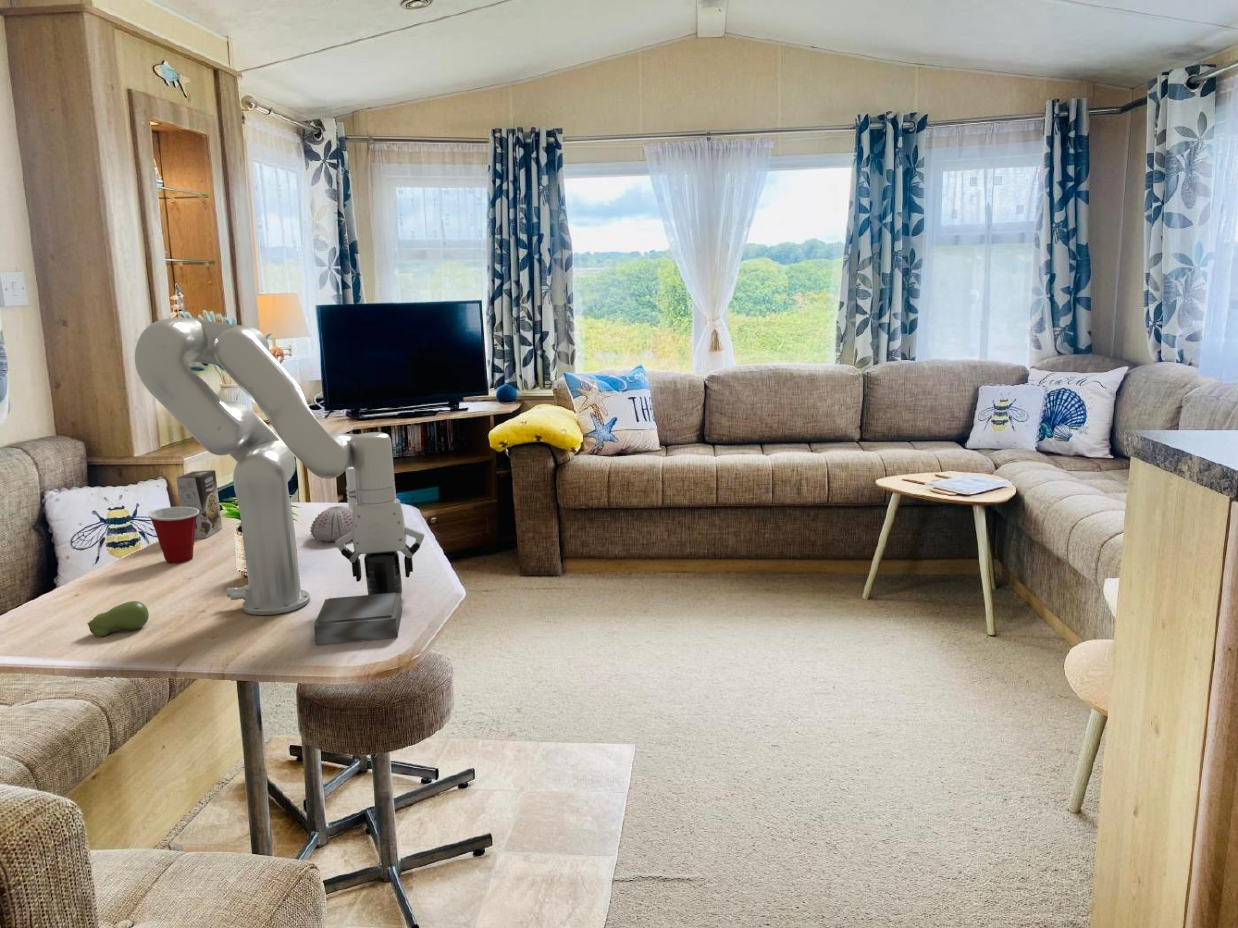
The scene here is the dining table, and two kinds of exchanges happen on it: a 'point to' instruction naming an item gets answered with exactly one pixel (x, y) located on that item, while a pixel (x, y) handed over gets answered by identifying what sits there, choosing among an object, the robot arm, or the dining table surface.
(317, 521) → the sea urchin shell
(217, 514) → the coffee box
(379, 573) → the supplement bottle
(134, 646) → the dining table surface
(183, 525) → the plastic cup
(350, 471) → the candle
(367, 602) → the grey square block
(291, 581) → the robot arm
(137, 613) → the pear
